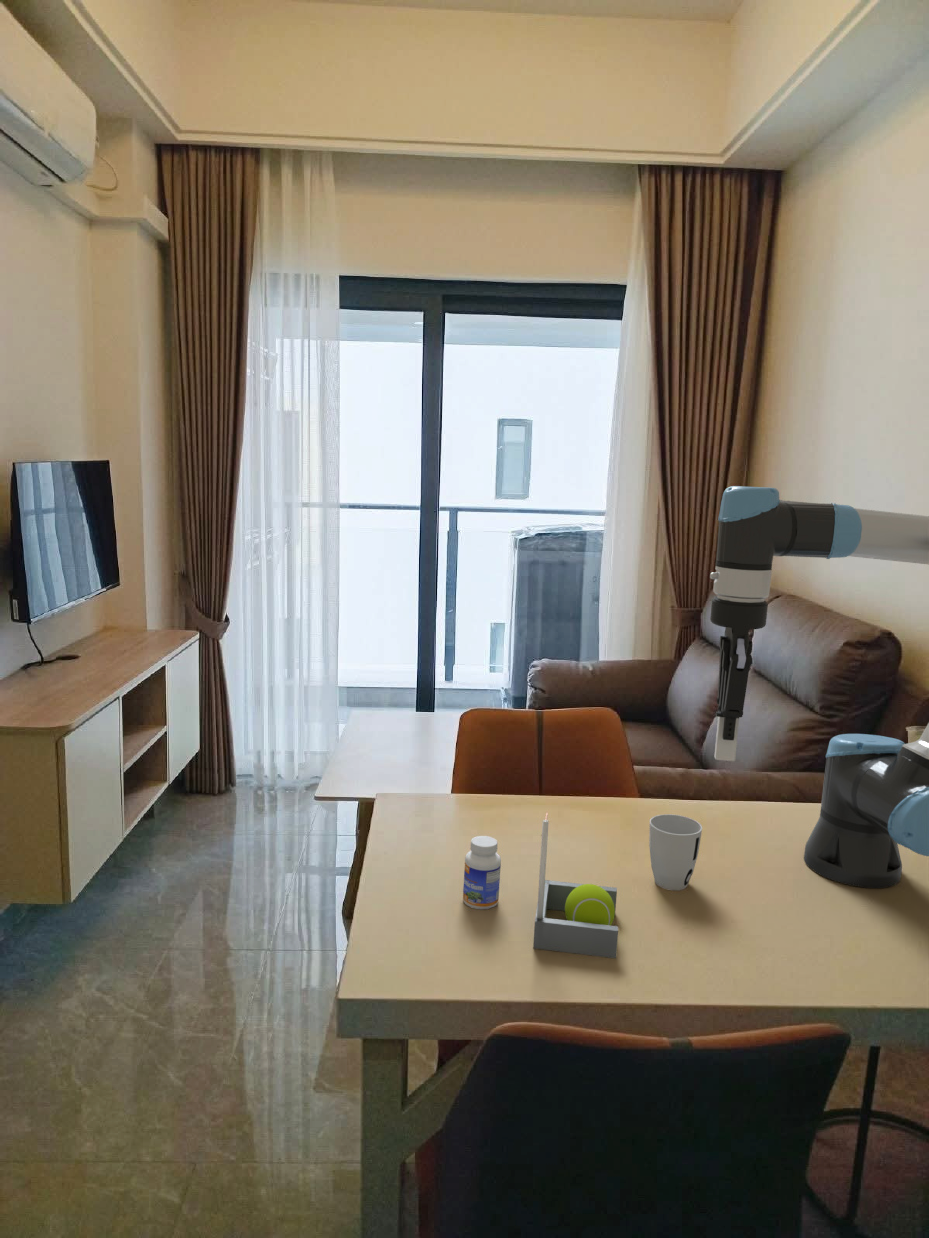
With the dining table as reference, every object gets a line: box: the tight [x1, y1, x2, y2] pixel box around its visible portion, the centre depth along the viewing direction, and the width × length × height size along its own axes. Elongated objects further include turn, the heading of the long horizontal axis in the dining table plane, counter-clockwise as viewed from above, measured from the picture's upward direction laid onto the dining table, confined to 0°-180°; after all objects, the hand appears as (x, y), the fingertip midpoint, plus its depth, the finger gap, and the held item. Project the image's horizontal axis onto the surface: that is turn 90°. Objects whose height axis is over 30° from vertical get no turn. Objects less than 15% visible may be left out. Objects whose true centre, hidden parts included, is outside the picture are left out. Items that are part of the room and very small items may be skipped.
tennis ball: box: [564, 883, 616, 926], centre depth 123 cm, size 7×7×7 cm
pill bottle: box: [462, 835, 502, 910], centre depth 130 cm, size 5×5×10 cm
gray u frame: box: [532, 812, 619, 959], centre depth 123 cm, size 11×12×18 cm
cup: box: [648, 813, 703, 891], centre depth 139 cm, size 8×8×10 cm
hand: (724, 758), depth 126 cm, fingers closed
